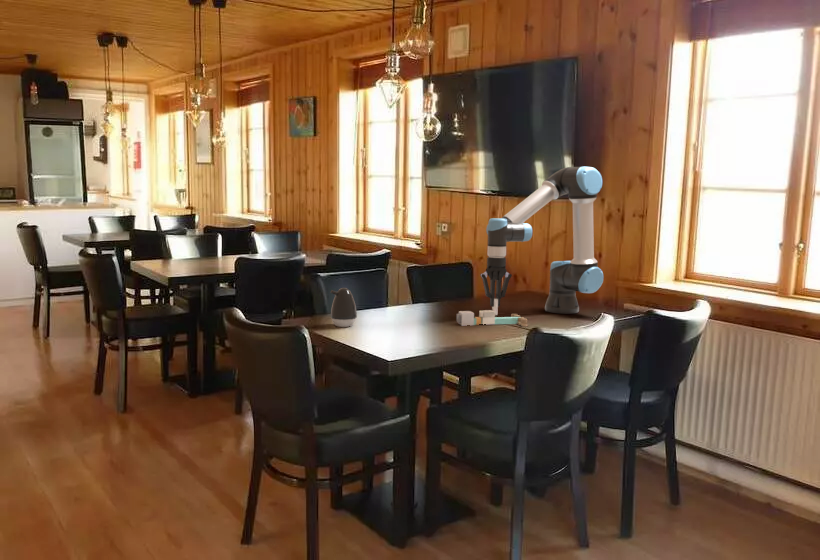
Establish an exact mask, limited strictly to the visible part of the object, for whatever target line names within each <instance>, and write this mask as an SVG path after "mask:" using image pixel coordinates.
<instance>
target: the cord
mask: <svg viewBox="0 0 820 560" xmlns="http://www.w3.org/2000/svg"><path fill="white" fill-rule="evenodd" d="M517 322H518V317H511V316H504V317H503V316H501V317H500V316H498V317H497V316H495V324H494V325H518V324H517ZM456 323H458V324H459V325H460V326H461V327H463V326H465V327H466V326H467V325H470V326H480V325H479V324H482V318H480V317H479V316H475V313H474V312H473V311H471V310H460V311H459V310H458V313H456Z"/></svg>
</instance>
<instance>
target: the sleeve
mask: <svg viewBox="0 0 820 560" xmlns="http://www.w3.org/2000/svg"><path fill="white" fill-rule="evenodd" d="M478 317H480V318H482V324H483V326H485V325H484V324H486V325H496V324H495V317H496V315H495V312H494V311H492V309H485V310H483V309H482V310H480V309H479V314H478Z"/></svg>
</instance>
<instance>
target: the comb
mask: <svg viewBox="0 0 820 560" xmlns="http://www.w3.org/2000/svg"><path fill="white" fill-rule="evenodd" d="M510 317H518V322H517V324H516V325H519V326H520V327H528V326H529V325H528V319H527V318H525V317H524V316H522V317H521V315H520V314H519V315H518V313H511V314H510Z"/></svg>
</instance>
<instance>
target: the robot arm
mask: <svg viewBox="0 0 820 560" xmlns="http://www.w3.org/2000/svg"><path fill="white" fill-rule="evenodd" d="M602 187H603V177H602V174H601V172H600V171H598V170H597V169H596V168H595V167H592V166H566V167H564V168H561V169H559V170H557V171H556V172H554V173H553V174H551V175H550V176H549V177H547V178H545V180H544V181H542V183H541V186H540V187H538V188H537V189H536V190H535V191H533V192H532V193H531V194H529V196H527V197H526V198H525V199H523V200H522V201H521V202H520V203H518V204H517V205H516V206H515V207H514V208H512V209H511V210H509V211H508V212H507V213H506V214H504V215H503V216H502V217H501V218H499V217H497V218H494V217H493V218H489V220H488V224H487V225H486V234H487V253H486V255H487V259H486V269H485V271H484V272H483V273H479V274H480V277H481V279H482V283H483V289H484V293H485V294H484V295H485V297H487V298H489V305H490V307H491V310H492V311H494V312H495V316H498V314H499V313H498V308H499V307H501V299H502V298H505V297H506V293H507V289H508V285H509V283H510V279H511V278H512V277H513V275H512V273H509V272H508V271H507V268H506V266H507V263H506V262H507V258H506V256H507V242H513V243H514V242H517V243H518V242H519V243H520V242H521V243H523V242H529V241H530V240H531V239H532V237H533V227H532V225H531V224H529V223H527V222H526V221H527V220H528V219H530V218H531V217H532V216H533V215H535V214H537V212H538V211H539V210H541V209H542V208H543V207H545V206H546V205H548V203H550V202H551V201H552V200H557V199H559V198H560V197H562V196H564V195H568V200H569V201H570V202H571V203H572V232H573V234H572V242H573V243H572V244H573V258H572V259H571V260H556V261H555V260H554V261H552V262H551V263H550V269H549V294H548V296H547V299H546V302H545V306H544V311H545V312H547V313H553V314H561V315H563V314H567V315H568V314H577V313H579V311H580V306H579V303H578V299H577V296H576V294H577V293H576V292H579V293H583V294H594V293H596V292H597V291H598V290H599V289H600V288H601V286H602V285H603V283H604V273H603V270H602V269H601V268H600V267H598V266H599V264H598V260H597V259H596V258H595V246H594V245H595V239H594V236H595V235H594V202H595V201H596V200H597V197H598V196H597V195H598V193H599V192H600V191H601V190H602ZM525 222H526V223H525ZM487 277H489V281H488V278H487ZM503 278H504V279H503ZM502 280H503V282H502ZM489 282H490V285H489ZM489 286H490V287H489Z"/></svg>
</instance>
